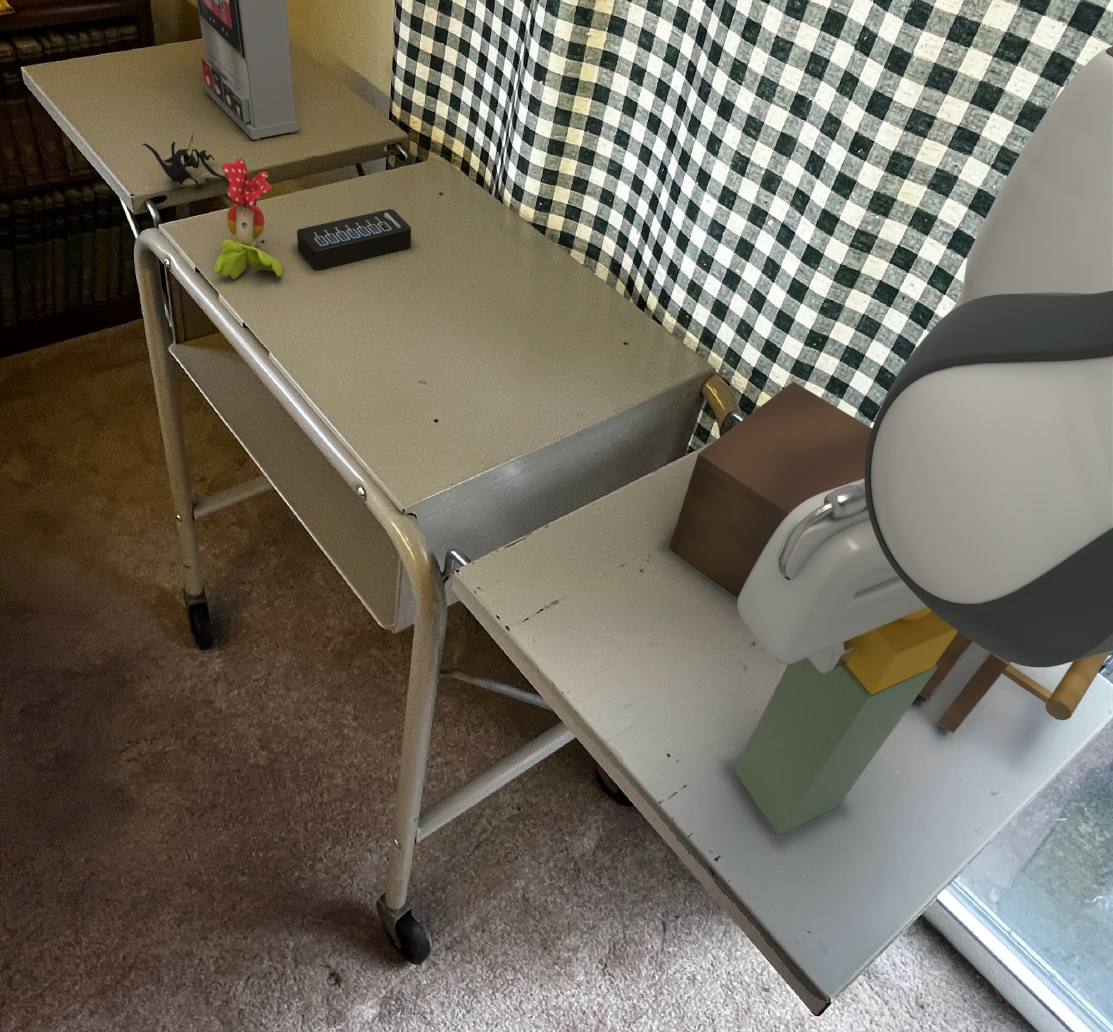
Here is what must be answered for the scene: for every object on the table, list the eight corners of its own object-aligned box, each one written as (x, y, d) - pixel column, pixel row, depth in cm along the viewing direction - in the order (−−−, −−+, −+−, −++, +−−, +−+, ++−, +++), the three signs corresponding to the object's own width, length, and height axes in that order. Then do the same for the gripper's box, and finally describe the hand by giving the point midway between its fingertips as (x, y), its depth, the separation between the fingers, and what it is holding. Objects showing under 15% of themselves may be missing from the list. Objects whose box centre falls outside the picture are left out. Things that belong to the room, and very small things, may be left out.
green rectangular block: (838, 806, 62) (938, 666, 50) (777, 836, 60) (867, 699, 48) (792, 743, 65) (877, 597, 53) (732, 770, 63) (807, 625, 51)
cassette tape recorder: (203, 93, 119) (167, -143, 101) (250, 85, 122) (222, -146, 104) (250, 142, 112) (220, -103, 94) (298, 133, 115) (278, -106, 97)
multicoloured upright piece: (215, 271, 97) (216, 287, 89) (198, 155, 93) (197, 161, 85) (278, 268, 99) (285, 283, 91) (265, 154, 95) (270, 159, 87)
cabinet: (908, 571, 77) (962, 481, 70) (826, 662, 70) (877, 572, 62) (758, 473, 83) (793, 381, 75) (668, 548, 76) (697, 453, 68)
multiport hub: (296, 249, 98) (295, 229, 96) (392, 227, 103) (392, 207, 101) (315, 271, 96) (313, 251, 94) (412, 247, 101) (412, 228, 99)
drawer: (1080, 679, 70) (1144, 610, 64) (1017, 780, 64) (1082, 713, 58) (865, 539, 78) (904, 464, 71) (788, 616, 71) (824, 542, 65)
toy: (933, 667, 50) (986, 593, 46) (870, 695, 49) (918, 621, 44) (874, 600, 53) (918, 524, 48) (812, 625, 51) (852, 548, 47)
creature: (180, 166, 109) (136, 181, 102) (178, 117, 106) (133, 129, 99) (243, 183, 108) (203, 200, 101) (243, 134, 105) (201, 148, 98)
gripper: (858, 566, 34) (755, 757, 44) (1208, 432, 42) (1054, 620, 52) (756, 452, 38) (682, 653, 48) (1097, 349, 46) (972, 539, 56)
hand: (879, 635), depth 50 cm, fingers open, 6 cm apart
